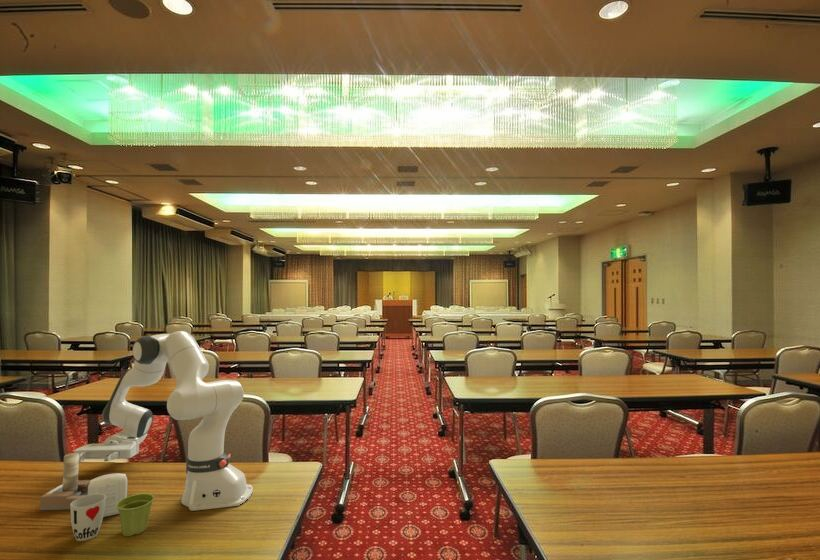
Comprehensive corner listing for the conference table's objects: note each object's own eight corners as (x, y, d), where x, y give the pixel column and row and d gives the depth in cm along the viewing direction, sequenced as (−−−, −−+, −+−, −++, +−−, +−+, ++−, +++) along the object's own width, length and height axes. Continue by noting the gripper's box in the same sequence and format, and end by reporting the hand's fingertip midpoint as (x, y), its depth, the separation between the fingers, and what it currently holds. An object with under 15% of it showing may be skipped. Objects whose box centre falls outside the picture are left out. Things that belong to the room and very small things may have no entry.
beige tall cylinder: (85, 493, 145) (86, 451, 146) (73, 501, 139) (74, 458, 140) (66, 493, 144) (68, 452, 145) (53, 502, 139) (55, 458, 139)
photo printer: (126, 507, 138) (127, 468, 138) (126, 513, 134) (127, 473, 134) (86, 516, 132) (88, 476, 132) (85, 522, 128) (87, 481, 129)
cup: (64, 546, 116) (66, 509, 116) (74, 531, 123) (75, 496, 124) (100, 540, 119) (101, 504, 119) (107, 525, 126) (108, 491, 127)
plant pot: (160, 523, 128) (161, 494, 128) (136, 541, 119) (137, 510, 119) (133, 520, 129) (134, 492, 130) (106, 538, 120) (108, 507, 120)
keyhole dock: (115, 491, 148) (115, 479, 149) (92, 508, 136) (92, 495, 137) (67, 492, 147) (68, 480, 147) (39, 510, 135) (40, 496, 136)
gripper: (89, 438, 166) (62, 451, 152) (143, 437, 168) (121, 450, 154) (88, 454, 166) (61, 468, 152) (142, 453, 167) (121, 467, 154)
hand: (92, 459), depth 153 cm, fingers open, 8 cm apart
